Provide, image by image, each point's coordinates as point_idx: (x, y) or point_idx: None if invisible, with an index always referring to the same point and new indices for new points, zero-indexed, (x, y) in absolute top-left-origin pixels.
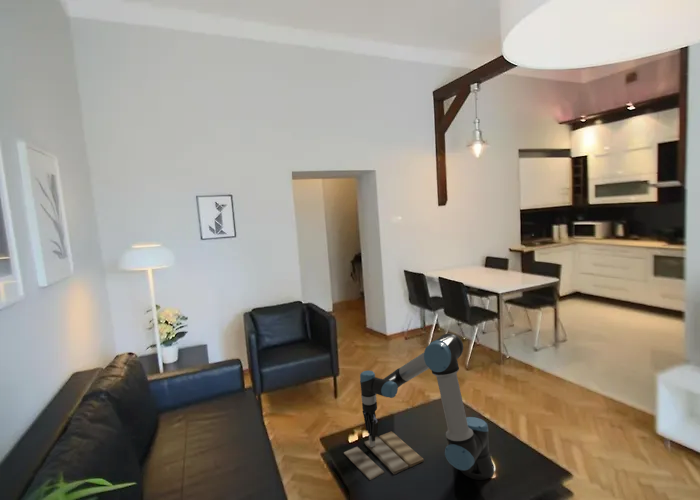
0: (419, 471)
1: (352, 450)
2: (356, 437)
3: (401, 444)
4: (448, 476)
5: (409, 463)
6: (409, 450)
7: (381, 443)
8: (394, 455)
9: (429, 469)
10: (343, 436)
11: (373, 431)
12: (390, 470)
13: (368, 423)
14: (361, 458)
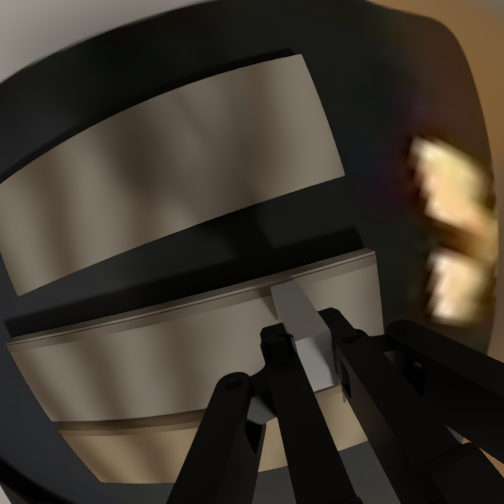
0: (45, 434)
1: (305, 123)
2: (449, 210)
3: None
4: (36, 477)
5: (65, 433)
6: (171, 472)
7: None
8: (135, 405)
9: (60, 463)
10: (475, 131)
11: (193, 439)
12: (33, 333)
13: (392, 438)
14: (170, 171)
